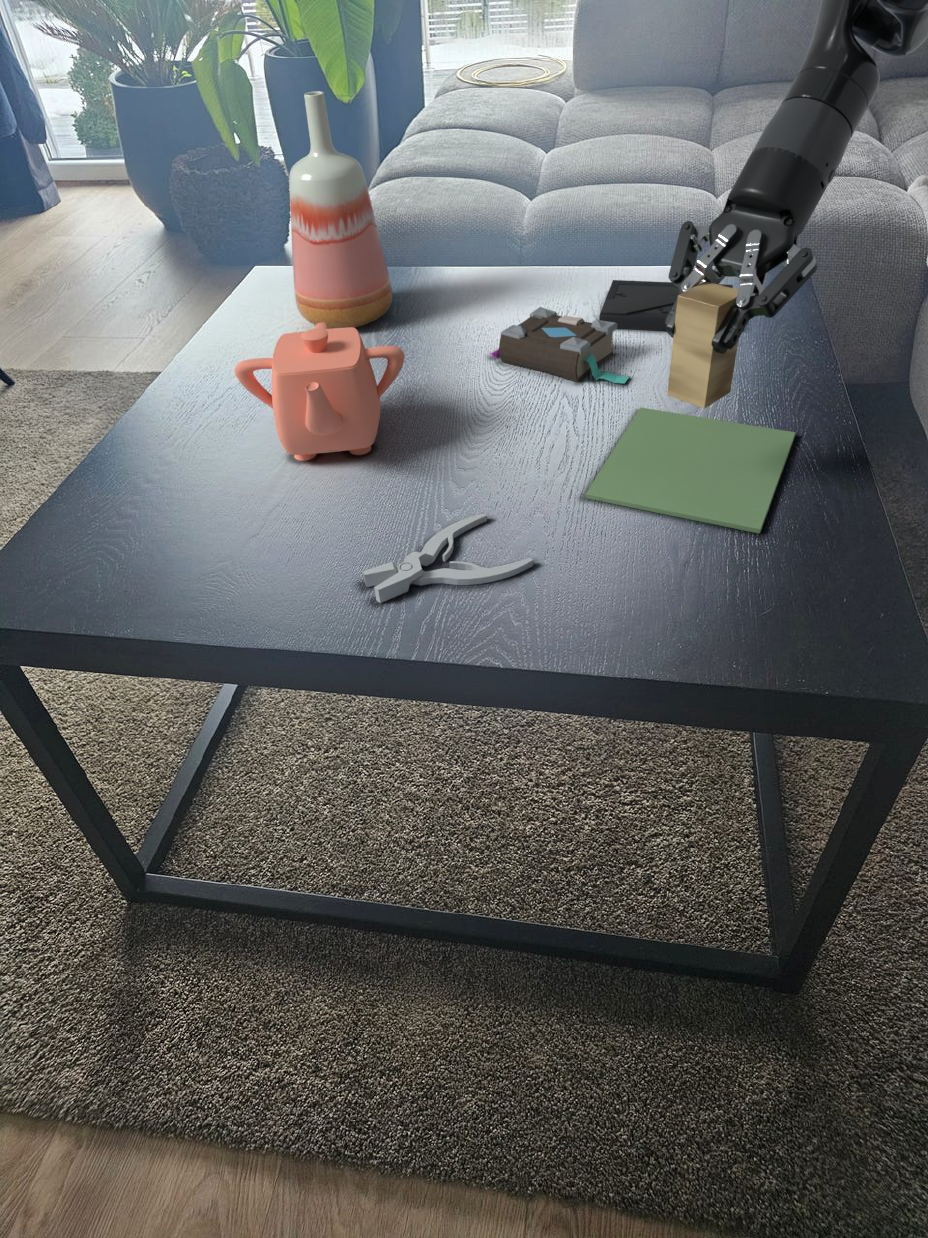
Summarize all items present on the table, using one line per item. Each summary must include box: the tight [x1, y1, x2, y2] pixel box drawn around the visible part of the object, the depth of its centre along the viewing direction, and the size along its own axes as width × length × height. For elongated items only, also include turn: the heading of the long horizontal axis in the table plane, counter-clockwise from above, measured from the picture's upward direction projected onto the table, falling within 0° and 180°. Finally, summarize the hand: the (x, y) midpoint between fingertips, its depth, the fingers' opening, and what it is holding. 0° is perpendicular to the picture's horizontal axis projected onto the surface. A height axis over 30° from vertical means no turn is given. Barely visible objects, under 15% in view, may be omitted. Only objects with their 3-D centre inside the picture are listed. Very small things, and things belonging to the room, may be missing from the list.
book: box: [490, 306, 630, 384], centre depth 114 cm, size 20×12×5 cm, turn 54°
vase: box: [288, 90, 393, 329], centre depth 121 cm, size 14×14×30 cm
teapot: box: [234, 323, 405, 462], centre depth 98 cm, size 17×16×13 cm
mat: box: [584, 407, 797, 535], centre depth 93 cm, size 18×20×1 cm
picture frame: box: [598, 279, 734, 332], centre depth 124 cm, size 13×2×18 cm
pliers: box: [363, 512, 534, 604], centre depth 82 cm, size 10×2×15 cm
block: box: [666, 281, 740, 409], centre depth 82 cm, size 4×4×10 cm
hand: (694, 341), depth 80 cm, fingers closed on block, 4 cm apart
